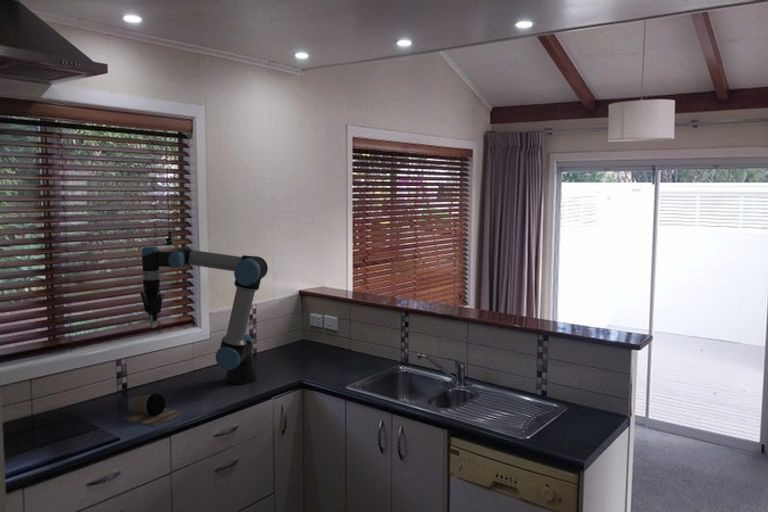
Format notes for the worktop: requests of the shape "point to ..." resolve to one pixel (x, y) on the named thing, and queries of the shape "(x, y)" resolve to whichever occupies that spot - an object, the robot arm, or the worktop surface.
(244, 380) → the robot arm
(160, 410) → the coffee cup
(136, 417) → the brown striped mat
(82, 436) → the worktop surface
